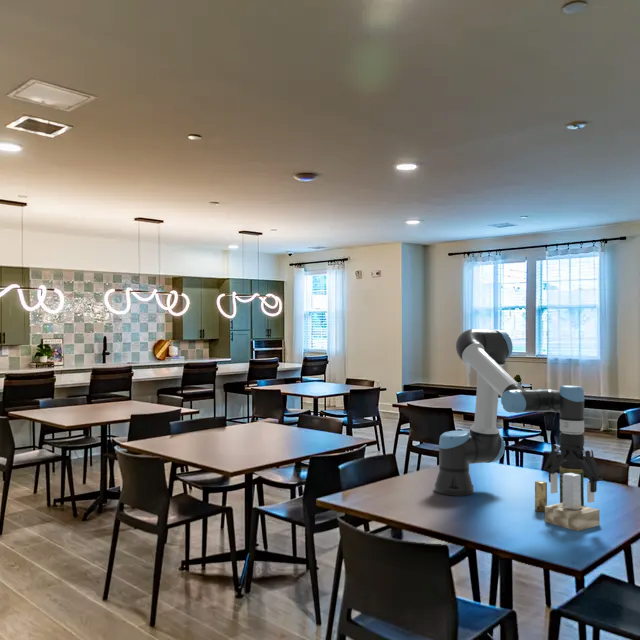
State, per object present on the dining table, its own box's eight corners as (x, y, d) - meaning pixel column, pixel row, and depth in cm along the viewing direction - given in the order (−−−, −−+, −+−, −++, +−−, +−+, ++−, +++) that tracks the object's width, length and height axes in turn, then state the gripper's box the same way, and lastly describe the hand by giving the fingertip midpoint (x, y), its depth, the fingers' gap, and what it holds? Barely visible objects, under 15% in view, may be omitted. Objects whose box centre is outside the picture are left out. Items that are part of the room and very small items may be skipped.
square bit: (562, 516, 203) (562, 474, 204) (570, 514, 206) (569, 472, 206) (573, 519, 200) (573, 476, 201) (580, 517, 202) (580, 474, 203)
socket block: (544, 521, 204) (544, 506, 205) (566, 516, 211) (566, 501, 211) (577, 531, 194) (577, 515, 195) (599, 525, 201) (599, 509, 201)
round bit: (532, 510, 218) (532, 481, 218) (539, 508, 220) (539, 480, 221) (542, 513, 215) (542, 484, 215) (549, 511, 217) (549, 482, 217)
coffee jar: (558, 504, 226) (558, 453, 227) (581, 506, 224) (581, 454, 225) (561, 511, 217) (561, 458, 218) (585, 513, 215) (585, 459, 216)
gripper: (532, 428, 212) (532, 490, 211) (600, 438, 191) (600, 507, 191) (546, 427, 216) (546, 488, 215) (614, 436, 195) (614, 504, 195)
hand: (571, 497), depth 203 cm, fingers open, 13 cm apart
